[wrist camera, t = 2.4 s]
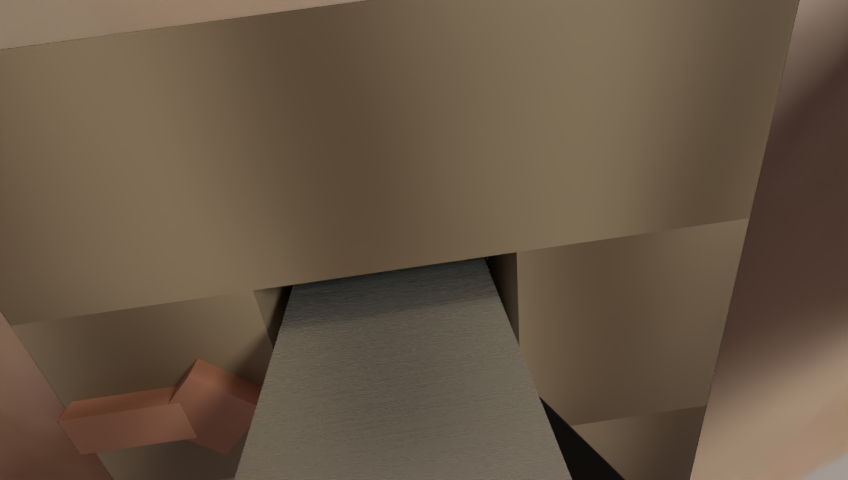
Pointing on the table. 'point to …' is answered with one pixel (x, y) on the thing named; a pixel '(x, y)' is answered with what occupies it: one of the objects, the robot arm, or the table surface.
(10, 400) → the table surface
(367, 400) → the column
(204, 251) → the stand block
